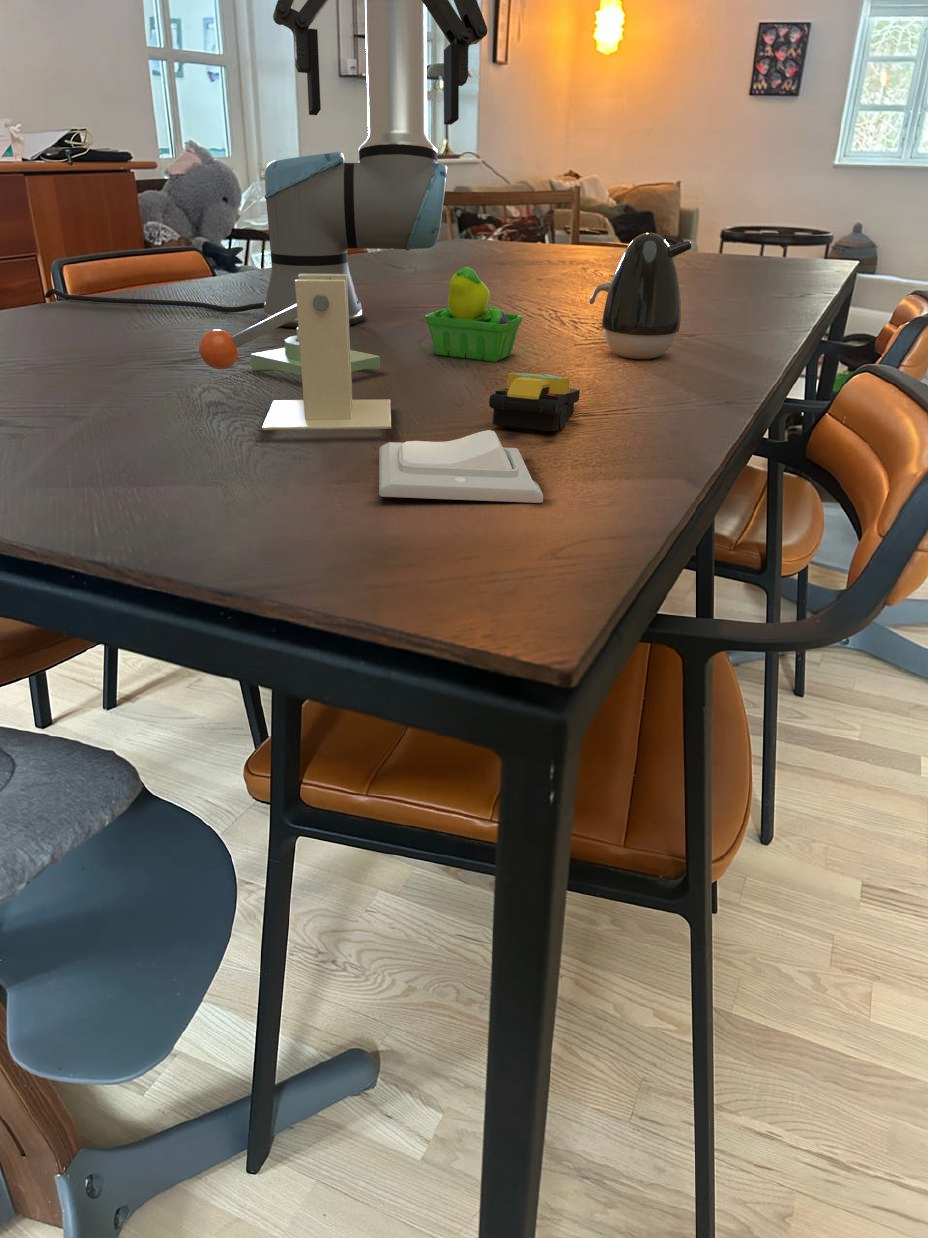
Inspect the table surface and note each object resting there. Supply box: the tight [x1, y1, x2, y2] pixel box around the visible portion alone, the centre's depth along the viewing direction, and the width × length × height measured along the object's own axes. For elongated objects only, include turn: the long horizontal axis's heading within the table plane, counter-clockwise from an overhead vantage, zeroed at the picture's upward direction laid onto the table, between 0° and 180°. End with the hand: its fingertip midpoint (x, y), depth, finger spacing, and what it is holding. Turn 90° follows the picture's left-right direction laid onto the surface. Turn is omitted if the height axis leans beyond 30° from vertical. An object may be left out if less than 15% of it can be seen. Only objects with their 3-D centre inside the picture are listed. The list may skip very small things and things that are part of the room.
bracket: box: [261, 274, 392, 431], centre depth 84 cm, size 12×10×14 cm
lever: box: [198, 278, 332, 370], centre depth 82 cm, size 14×4×4 cm, turn 95°
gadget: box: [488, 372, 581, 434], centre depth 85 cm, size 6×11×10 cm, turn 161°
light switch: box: [378, 429, 544, 504], centre depth 72 cm, size 11×4×13 cm
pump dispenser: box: [601, 232, 693, 360], centre depth 115 cm, size 10×10×15 cm
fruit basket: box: [424, 266, 524, 363], centre depth 114 cm, size 11×9×11 cm
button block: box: [250, 335, 381, 377], centre depth 106 cm, size 12×10×4 cm
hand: (384, 117), depth 86 cm, fingers open, 13 cm apart
